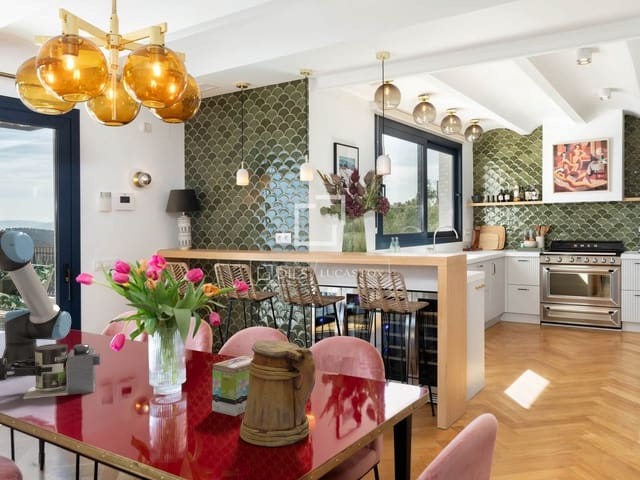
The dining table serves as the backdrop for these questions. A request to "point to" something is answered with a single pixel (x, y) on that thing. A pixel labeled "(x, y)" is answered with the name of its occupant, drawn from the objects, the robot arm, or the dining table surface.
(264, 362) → the tankard
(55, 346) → the coffee can
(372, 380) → the dining table surface
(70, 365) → the motor block
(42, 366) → the robot arm
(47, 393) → the mount pad
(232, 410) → the tea box
